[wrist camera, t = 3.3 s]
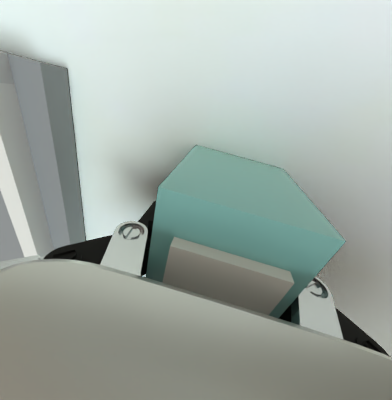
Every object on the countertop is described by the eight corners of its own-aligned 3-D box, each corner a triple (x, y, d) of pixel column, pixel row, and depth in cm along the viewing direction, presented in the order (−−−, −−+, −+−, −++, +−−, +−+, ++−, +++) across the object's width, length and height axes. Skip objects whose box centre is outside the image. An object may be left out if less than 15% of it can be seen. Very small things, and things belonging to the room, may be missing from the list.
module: (283, 168, 10) (356, 252, 4) (234, 265, 14) (238, 375, 8) (196, 144, 10) (152, 193, 4) (173, 246, 14) (134, 341, 8)
